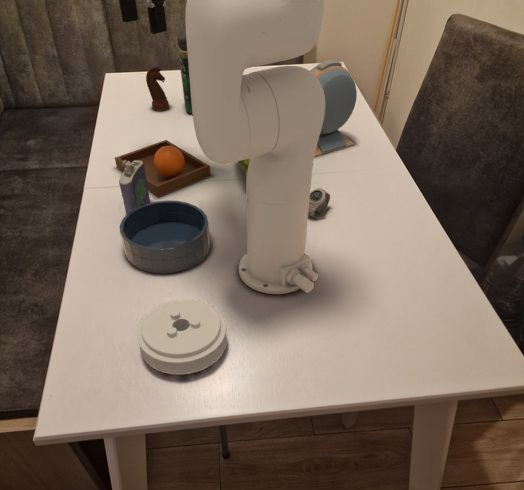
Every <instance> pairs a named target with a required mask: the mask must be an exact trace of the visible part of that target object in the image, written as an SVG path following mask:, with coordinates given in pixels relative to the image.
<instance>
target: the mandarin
mask: <svg viewBox="0 0 524 490" xmlns="http://www.w3.org/2000/svg"><path fill="white" fill-rule="evenodd" d="M184 165H185V161H184V157H183V155H182V153H181V152H180V151H179V150H178V149H177V148H175V147H173V146H164V147H161V148H160V149H159V150H158V151H157V152H156V154H155V156H154V166H155V168H156V170H157V172H158V173H159V174H160V175H162V176H163V177H166V178H175V177H177V176H179V175H180V174H181V173H182V171H183V169H184Z"/></svg>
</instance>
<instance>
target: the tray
mask: <svg viewBox="0 0 524 490" xmlns="http://www.w3.org/2000/svg"><path fill="white" fill-rule="evenodd" d="M164 146H173V147H175V148H177V149H178V150H179V151H180V152H181V153H182V155H183V157H184V161H185V165H184V169H183V171H182V173H181V174H180V175H179V176H177V177H175V178H166V177H163V176H162V175H160V174H159V173H158V172H157V170H156V168H155V166H154V156H155V154H156V152H157V151H158V150H159V149H160V148H161V147H164ZM125 160H126V162H127V161H130V162H131V163H132V162H133V161H134V160H141V161H143V162H144V167H145V173H146V179H147V185H148V192H150V193H151V194H153V195H154V196H155V197H157V198H161V197H163V196H166V195H168V194H170V193H173V192H175V191H178V190H180V189H182V188H185V187H187V186H191V185H192V184H195V183H198V182H199V181H202V180H205V179H207V178H209V177H211V176H212V175H211V166H210V165H209V164H208V163H206V162H205V161H203V160H201V159H200V158H198V157H196V156H194V155H193V154H191V153H189V152H188V151H186V150H184V149H183V148H181V147H179V146H178V145H176V144H175V143H172V142H171V141H169V140H167V139H165V140H162V141H159V142H156V143H153V144H151V145H148V146H145V147H142V148H139V149H136V150H133V151H130V152H128V153H125V154H122V155H119V156H116V157H114V161H115V166H116V169H118V170H119V171H121V172H122V173H123V171H124V170H125V167H126V166H125V163H126V162H125V163H122V162H123V161H125ZM122 164H123V165H122Z"/></svg>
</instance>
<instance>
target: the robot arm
mask: <svg viewBox="0 0 524 490" xmlns="http://www.w3.org/2000/svg"><path fill="white" fill-rule="evenodd" d="M118 2H119V3H118V4H119V9H120V14H121V20H122V22H123V23H130V22H134V21H138V20H139V14H138V8H137V1H136V0H118ZM325 2H326V1H325V0H186V2H185V13H184V16H185V17H184V18H185V19H184V20H185V26H186V40H187V52H188V65H189V77H190V89H191V102H192V113H191V114H192V121H193V128H194V132H195V137H196V140H197V143H198V145H199V148H200V149H201V151H202V153H203V154H204V155H205V157H206V158H207V159H208V160H210V161H211V162H213V163H215V164H221V165H225V164H232V163H236V162H237V163H238V161H241V160H245V159H248V158H251V160H250V162H249V166H248V170H247V174H246V182H245V183H246V184H245V186H246V189H245V190H246V192H245V193H246V194H245V195H246V196H245V197H246V236H247V237H246V240H247V242H246V243H247V252H246V253H245V254H244V255H242V257H241V258H240V259H239V260H240V261H239V262H238V263H239V264H238V275H239V277H240V279H241V280H242V282H243V283H244V284H245V285H246V286H248V287H249V288H250V289H252V290H255V291H257V292H259V293H263V294H269V295H285V294H290V293H293V292H296V291H298V290H301V291H303V292H305V293H306V294H309V293H311V292H312V290H313V289H314V287H315V283H314V282H316V281H317V280H318V278H319V274H318V273H317V272H315V270H313V269H314V268H313V263H312V261H311V259H310V256H309V255H308V254H306V243H307V230H308V220H309V215H308V209H309V197H310V192H311V187H312V177H313V168H314V159H315V157H314V155H315V151H316V147H317V143H318V139H319V136H320V133H321V129H322V125H323V121H324V116H325V95H324V91H323V88H322V85H321V83H320V81H319V80H318V78H317V77H316V76H315V75H314V74H313V73H312V72H311V71H310V69H308V68H305V67H302V66H297V65H283V66H276V67H271V68H267V69H261V70H257V71H251V72H250V73H245V74H244V72H245V70H247V69H251V68H255V67H260V66H265V65H270V64H274V63H280V62H283V61H288V60H289V61H290V60H292V59H296V58H299V57H301V56H304V55H305V54H307V53H309V52H310V51H312V49H314V47H315V46H316V44H317V43H318V40H319V37H320V34H321V30H322V24H323V18H324V9H325ZM146 3H147V5H148V7H146V9H147V11H146V12H147V17H148V24H149V31H150V34H152V35H156V34H161V33H165V32H167V29H168V27H167V20H166V9H165V6H166V4H167V3H166V0H146Z"/></svg>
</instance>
